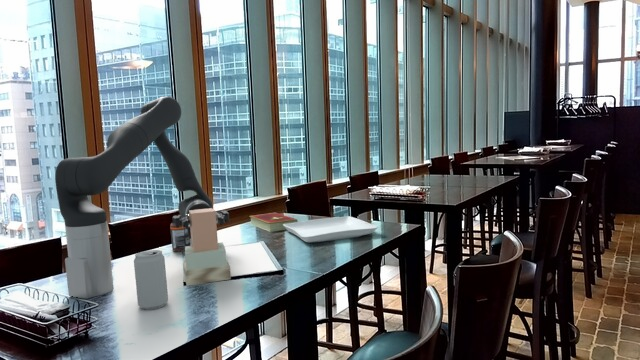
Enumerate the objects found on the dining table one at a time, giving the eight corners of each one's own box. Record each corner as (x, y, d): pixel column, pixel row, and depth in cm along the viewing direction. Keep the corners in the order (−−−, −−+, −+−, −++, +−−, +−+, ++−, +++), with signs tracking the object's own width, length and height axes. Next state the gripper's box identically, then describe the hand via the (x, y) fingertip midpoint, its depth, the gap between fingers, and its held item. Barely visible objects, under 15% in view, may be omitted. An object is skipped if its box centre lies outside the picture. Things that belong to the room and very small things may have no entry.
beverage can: (159, 311, 103) (154, 256, 102) (132, 310, 104) (127, 256, 103) (173, 300, 109) (169, 249, 108) (148, 300, 110) (143, 249, 109)
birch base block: (186, 287, 120) (185, 271, 120) (184, 275, 130) (182, 261, 130) (231, 280, 124) (229, 265, 123) (224, 270, 134) (223, 255, 133)
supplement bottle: (175, 247, 163) (172, 214, 162) (193, 247, 162) (190, 214, 161) (169, 252, 157) (166, 218, 156) (187, 251, 156) (184, 217, 155)
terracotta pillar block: (194, 252, 122) (191, 213, 122) (191, 247, 128) (188, 210, 127) (218, 249, 125) (215, 211, 124) (214, 244, 130) (211, 208, 129)
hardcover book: (276, 221, 204) (276, 211, 204) (298, 229, 186) (297, 218, 186) (250, 225, 199) (249, 215, 198) (269, 233, 180) (268, 222, 180)
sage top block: (186, 270, 121) (185, 255, 120) (186, 260, 130) (185, 246, 130) (226, 265, 123) (225, 250, 123) (223, 256, 133) (222, 242, 132)
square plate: (349, 224, 189) (348, 214, 189) (379, 237, 163) (379, 226, 163) (282, 232, 181) (282, 222, 180) (303, 247, 155) (303, 235, 154)
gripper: (172, 203, 137) (174, 211, 122) (223, 199, 141) (230, 206, 126) (174, 229, 138) (176, 240, 122) (225, 224, 142) (232, 234, 127)
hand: (204, 223), depth 124 cm, fingers open, 8 cm apart
